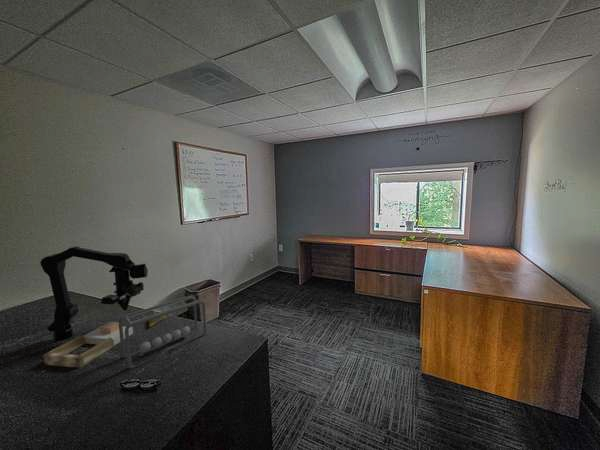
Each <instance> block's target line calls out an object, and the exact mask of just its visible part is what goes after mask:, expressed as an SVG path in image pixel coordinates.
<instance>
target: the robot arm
mask: <svg viewBox="0 0 600 450" xmlns="http://www.w3.org/2000/svg"><path fill="white" fill-rule="evenodd" d="M74 257H75V258H81V259H86V260H91V261H98V262H103V263H106V264H107V265H109V266H111V267H112V268H110V270H108V272H109V273H114V279H115V281H114V282H113V283H112V285H113V286H115V290H114V291H113V294H108V295H105V296H103V297H102V298H101V299H100V303H101V305H114V304H116V303H117V304H118V305H119V307H121V309H122V310H123V311H124V312H125V311H127V310H128V308H129V304H130V301H131V299H132V297H136V296H137V295H141V291H144V283H143V282H138V283H134V282H133V280H131V279H143V278H147V277H148V275H149V274H148V271H149V270H148V267H147V265H146V263H141V264H135V263H134V261H133V260H132V259H130V256H129V255H128V254H127V253H125V252H124V253H123V252H106V251H100V250H99V251H98V250H95V249H89V248H84V247H80V246H72V247H69V248H67V249H66V250H63V251H61V252H59V253H54V254H51V255H47V256H44V257H43V258H42V259H41V260H40V262H39V263H40V264H39V265H40V267H41V268H42V270H43V272H44V273H45V274H46V275H47V276H48V277H49V282H50V287H51V291H52V294H53V299H54V303H55V308H54V309H55V310H54V313H53V322H52V323H50V325H49V326H48V327H47V330H48V331H49V332H50V333H51V332H52V335H53V339H51V340H50V341H49V343H53V342H54V341H55V342H60V341H65V340H69V339H71V338H72V337H73V336H74V335H73V334H74V333H73V327H72V324H71V323H72V322H73V321H74V319H75V318H76V317H77V316H78V315H79V314H78V313H79V312H80V310H79V308H78V304H77V303H74V304H73V303H72V302H71V299H70V295H69V290H68V286H67V282H66V277H65V270H66V264H67V263H66V261H67V260H70V259H71V258H74ZM130 278H131V279H130Z"/></svg>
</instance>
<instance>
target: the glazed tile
mask: <svg viewBox="0 0 600 450" xmlns="http://www.w3.org/2000/svg"><path fill="white" fill-rule="evenodd" d="M103 325H104V326H102V325H101V326H102V327H101V326H99V327H100V333H108V334H111V333H113V332H114V331H116V330H118V329H119V321H109V322H108V323H106V324H103Z"/></svg>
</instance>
